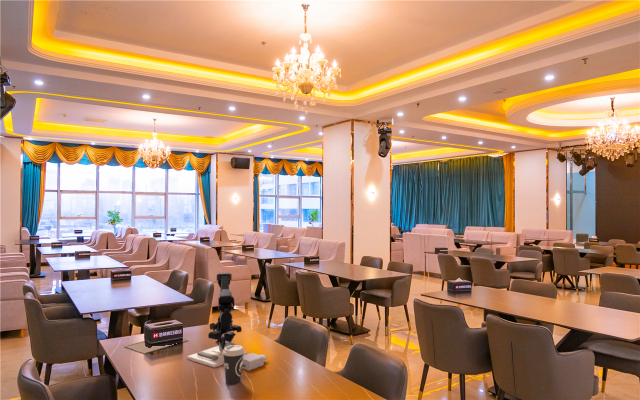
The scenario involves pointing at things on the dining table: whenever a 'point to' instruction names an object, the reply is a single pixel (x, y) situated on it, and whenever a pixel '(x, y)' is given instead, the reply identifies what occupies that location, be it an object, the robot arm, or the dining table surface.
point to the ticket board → (215, 362)
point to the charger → (253, 361)
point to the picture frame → (143, 349)
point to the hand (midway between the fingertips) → (225, 348)
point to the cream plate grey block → (221, 348)
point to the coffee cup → (233, 363)
